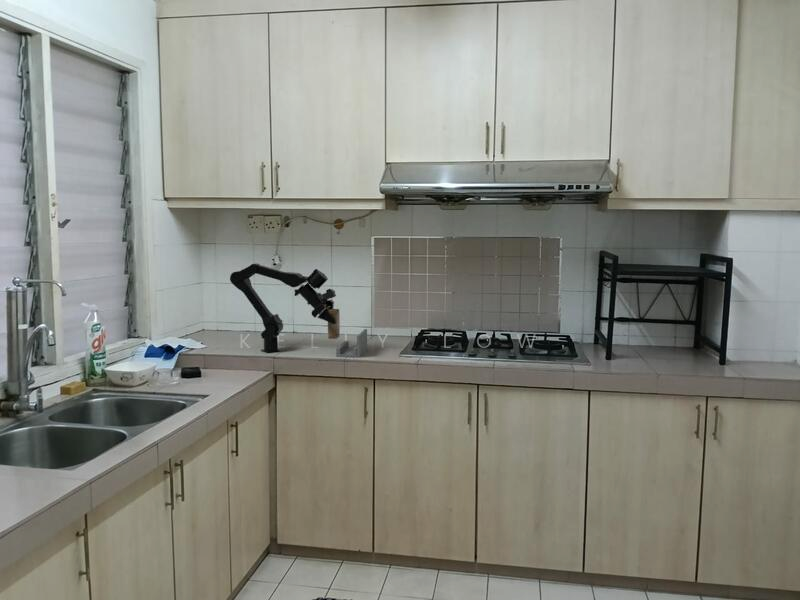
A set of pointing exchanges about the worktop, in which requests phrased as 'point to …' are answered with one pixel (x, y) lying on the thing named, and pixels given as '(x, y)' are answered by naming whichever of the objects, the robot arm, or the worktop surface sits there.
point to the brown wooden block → (334, 328)
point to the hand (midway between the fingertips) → (336, 322)
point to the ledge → (353, 351)
